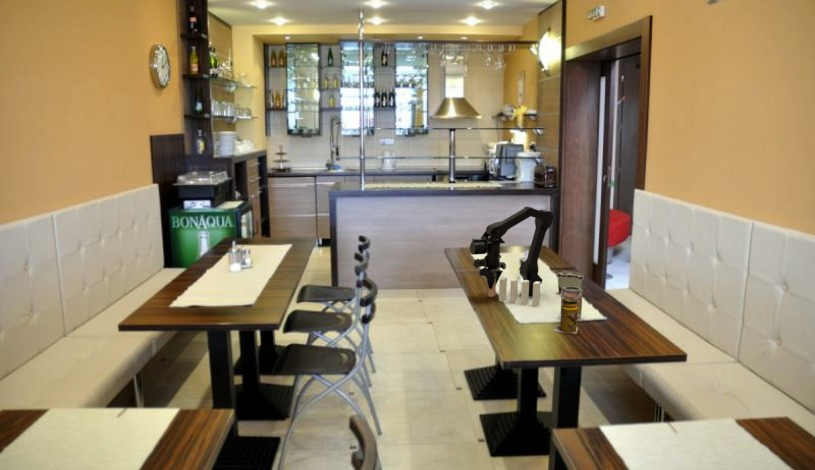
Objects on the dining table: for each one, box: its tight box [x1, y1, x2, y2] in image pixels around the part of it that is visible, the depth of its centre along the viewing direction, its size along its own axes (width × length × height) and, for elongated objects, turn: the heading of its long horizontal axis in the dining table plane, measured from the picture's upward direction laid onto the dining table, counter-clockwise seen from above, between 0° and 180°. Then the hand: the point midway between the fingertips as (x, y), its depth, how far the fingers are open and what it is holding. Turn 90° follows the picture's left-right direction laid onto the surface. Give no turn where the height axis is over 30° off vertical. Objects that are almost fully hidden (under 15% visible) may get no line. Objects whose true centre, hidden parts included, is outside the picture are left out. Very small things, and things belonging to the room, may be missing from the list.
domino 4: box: [520, 280, 529, 306], centre depth 267 cm, size 2×4×10 cm, turn 152°
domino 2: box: [498, 276, 508, 303], centre depth 272 cm, size 2×4×10 cm, turn 152°
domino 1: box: [487, 273, 497, 298], centre depth 274 cm, size 2×4×10 cm, turn 153°
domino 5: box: [532, 281, 541, 308], centre depth 265 cm, size 2×4×10 cm, turn 152°
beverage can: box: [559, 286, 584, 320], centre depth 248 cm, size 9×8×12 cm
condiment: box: [553, 298, 578, 334], centre depth 233 cm, size 7×8×12 cm
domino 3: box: [509, 278, 519, 304], centre depth 269 cm, size 2×4×10 cm, turn 152°
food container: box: [556, 271, 585, 296], centre depth 283 cm, size 12×6×10 cm, turn 65°
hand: (492, 287), depth 274 cm, fingers open, 4 cm apart
